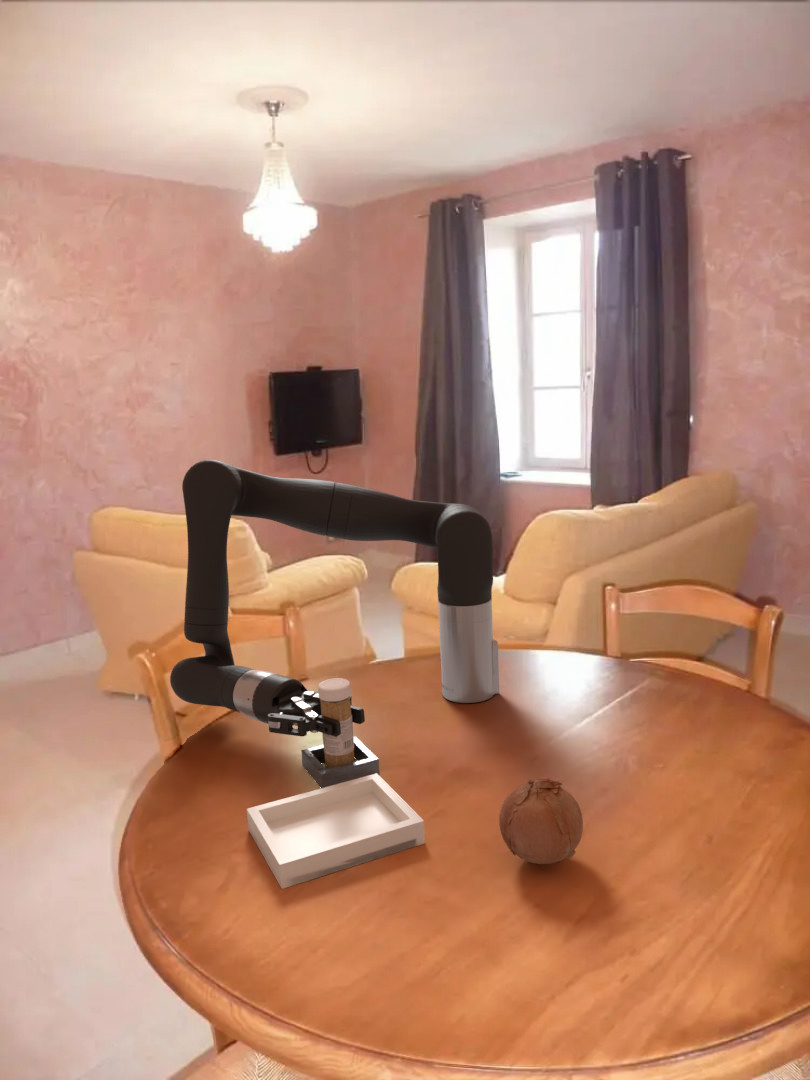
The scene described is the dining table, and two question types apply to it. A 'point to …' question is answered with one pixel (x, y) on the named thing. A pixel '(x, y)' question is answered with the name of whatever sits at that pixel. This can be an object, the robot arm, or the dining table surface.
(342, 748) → the sprinkles bottle
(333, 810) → the plastic tray
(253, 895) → the dining table surface
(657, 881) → the dining table surface
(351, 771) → the metal collar
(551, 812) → the onion
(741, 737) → the dining table surface
